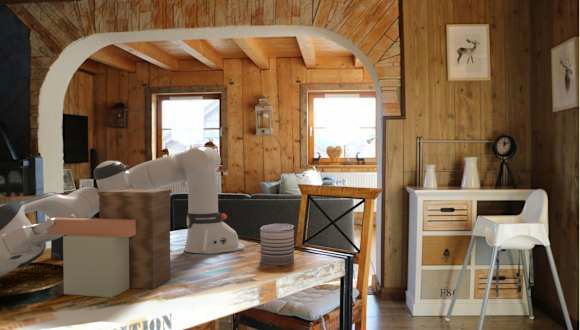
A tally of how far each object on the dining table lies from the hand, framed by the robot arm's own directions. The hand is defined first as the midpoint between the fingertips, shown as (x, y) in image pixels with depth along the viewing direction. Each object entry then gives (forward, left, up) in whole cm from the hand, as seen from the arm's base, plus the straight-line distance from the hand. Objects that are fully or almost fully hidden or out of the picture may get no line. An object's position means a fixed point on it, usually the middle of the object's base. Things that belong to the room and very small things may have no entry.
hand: (64, 218), depth 128 cm
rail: (-6, +5, -4) cm, 9 cm away
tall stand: (-18, +1, -19) cm, 26 cm away
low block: (-8, +6, -19) cm, 21 cm away
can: (-65, -7, -19) cm, 68 cm away
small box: (-1, -45, -19) cm, 49 cm away
